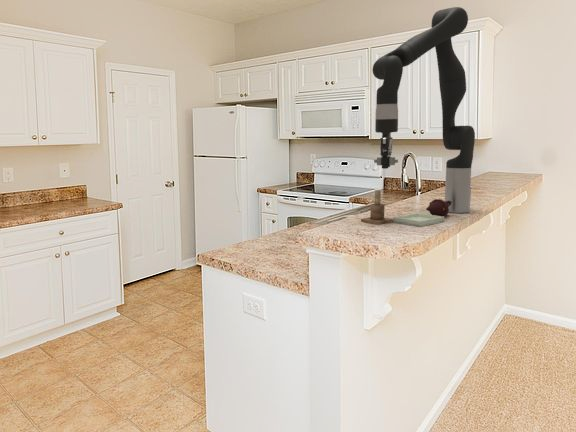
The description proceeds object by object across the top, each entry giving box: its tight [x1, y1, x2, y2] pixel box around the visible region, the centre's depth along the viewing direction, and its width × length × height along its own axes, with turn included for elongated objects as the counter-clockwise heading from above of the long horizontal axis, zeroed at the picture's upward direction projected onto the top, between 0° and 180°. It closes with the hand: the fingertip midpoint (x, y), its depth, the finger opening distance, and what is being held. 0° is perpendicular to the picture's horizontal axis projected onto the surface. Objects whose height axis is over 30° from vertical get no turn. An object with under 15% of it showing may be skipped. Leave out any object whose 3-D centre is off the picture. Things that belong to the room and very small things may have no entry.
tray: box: [392, 212, 445, 228], centre depth 161 cm, size 14×12×2 cm
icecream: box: [425, 198, 452, 217], centre depth 170 cm, size 7×7×15 cm
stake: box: [360, 189, 394, 226], centre depth 162 cm, size 8×8×11 cm
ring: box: [373, 156, 399, 166], centre depth 160 cm, size 8×6×2 cm
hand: (386, 167), depth 160 cm, fingers closed on ring, 6 cm apart
